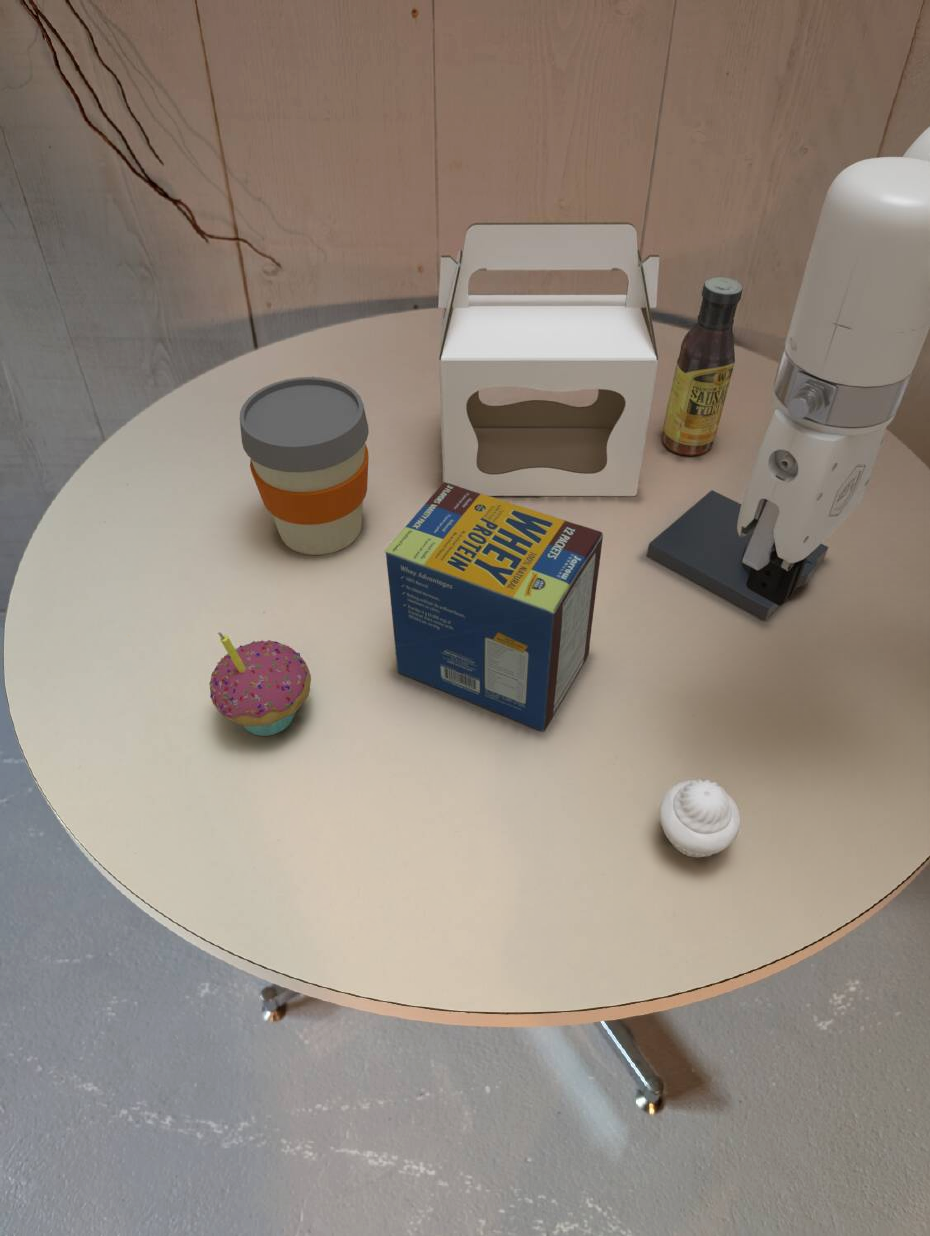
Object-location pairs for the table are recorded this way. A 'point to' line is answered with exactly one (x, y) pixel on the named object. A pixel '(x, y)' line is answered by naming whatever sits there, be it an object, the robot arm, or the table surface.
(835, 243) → the robot arm
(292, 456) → the reusable coffee cup
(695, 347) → the sauce bottle
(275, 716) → the cupcake
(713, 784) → the muffin
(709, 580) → the scale
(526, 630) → the protein box
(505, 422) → the gable box
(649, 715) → the table surface
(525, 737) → the table surface
